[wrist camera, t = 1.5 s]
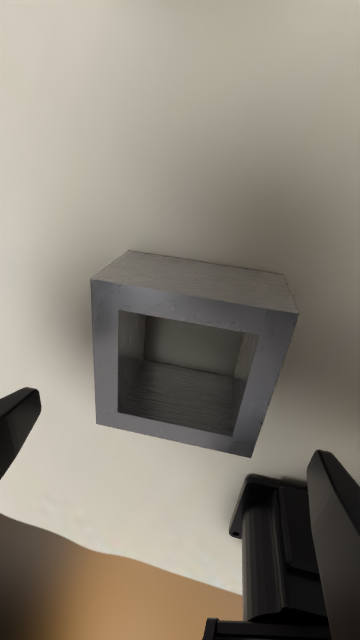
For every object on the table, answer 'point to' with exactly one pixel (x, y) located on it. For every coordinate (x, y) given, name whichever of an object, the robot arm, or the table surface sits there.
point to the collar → (181, 383)
